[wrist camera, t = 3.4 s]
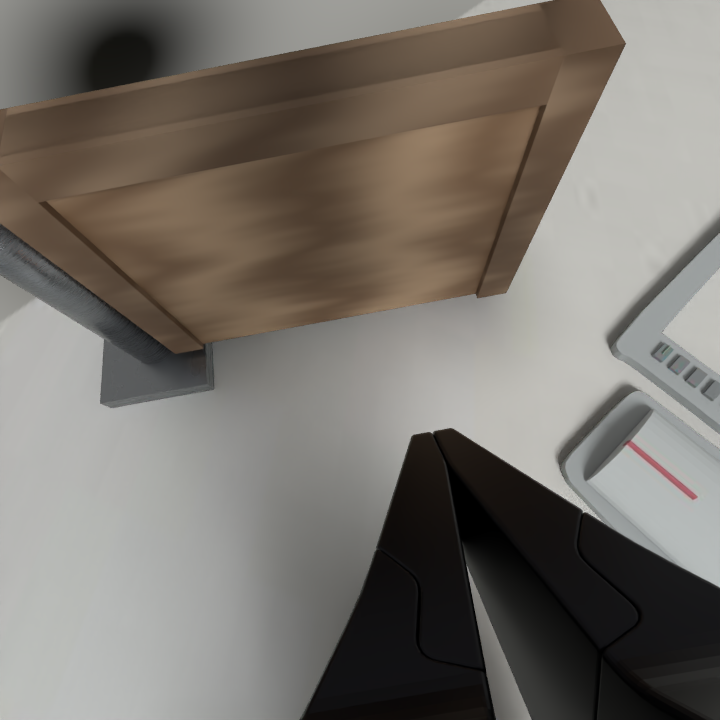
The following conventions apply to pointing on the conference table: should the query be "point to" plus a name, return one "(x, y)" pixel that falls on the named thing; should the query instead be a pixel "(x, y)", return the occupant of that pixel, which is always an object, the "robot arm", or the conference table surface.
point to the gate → (311, 173)
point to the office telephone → (659, 440)
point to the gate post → (108, 332)
